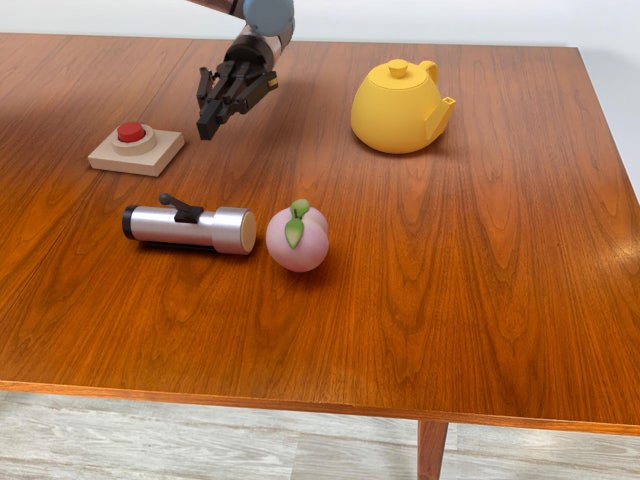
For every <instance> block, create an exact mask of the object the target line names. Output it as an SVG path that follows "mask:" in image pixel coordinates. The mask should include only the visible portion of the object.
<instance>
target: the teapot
mask: <svg viewBox="0 0 640 480" xmlns="http://www.w3.org/2000/svg"><path fill="white" fill-rule="evenodd" d="M438 79H439V66H438V65H437V64H436V63H435V62H434V61H432V60H423V61H421V62H420V63H419V64H415V63H412V62H409V61H407V60H404V59H401V58H396V59H395V58H394V59H391V60H389V61H388V62H385V63H381V64H379V65H377V66H375V67H373V68H372V69H371V70H370V71H369V72H368V74H367V75H366V76H365V78H364V79H363V80H362V82H361V84H360V86H359V88H358V89H357V91H356V93H355V95H354V98H353V101H352V105H351V109H350V127H351V129H352V132H353V133H354V135H355V136H356V137H357V138H358V139H359V140H360V141H361V142H363V143H364V144H365V145H367V146H368V147H369V148H371V149H373V150H375V151H378V152H382V153H387V154H396V155H397V154H399V155H400V154H410V153H415V152H417V151H420V150H423V149H424V148H426V147H428V146H429V145H431V144H432V143H433V142H434V141H435V140H437V138H438V137H440V135H441V134H443V133H444V131H445V129H446V127H447V125H448V123H449V120H450V118H451V116H452V113H453V111H454V109H455V106H456V105H457V101H456V100H455V99H453V98H451V97H449V96H446V97H444V98H443V97H442V94H441V92H440V90H439V88H438V86H437V85H438Z"/></svg>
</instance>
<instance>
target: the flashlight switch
mask: <svg viewBox="0 0 640 480" xmlns="http://www.w3.org/2000/svg"><path fill="white" fill-rule="evenodd" d="M158 202H159V203H160V204H161V206H167V207H168V208H172V209H176V210H178V211H180V212H184V213H190V209H191V206H192V205H191V204H188V203H186V202H184V201H182V200H180V199H178V198H176V197H174V196H172V195H171V194H170V193H168V192H162V193H160V194H159V196H158Z"/></svg>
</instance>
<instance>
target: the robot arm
mask: <svg viewBox="0 0 640 480" xmlns="http://www.w3.org/2000/svg"><path fill="white" fill-rule="evenodd" d="M185 1H186V2H189V3H192V4H195V5H198V6H201V7H204V8H207V9H210V10H213V11H216V12H219V13H223V14H225V15H229V16H232V17H235V18H237V19H239V20H243V21H245V25H244V26H243V28H242V30H241V31H240V32H239V34H238V35H237V36H236V37H235V39H234V40H233V41H232V43H231V44H230V46H229V47H228V48H227V50H226V51H225V53H224V58H223V60H222V62H221V63H219V64H217V65H216V67H215V68H214V69H208V67H207V66H201V67H199V69H198V70H199V74H200V79H199V83H198V86H197V91H196V93H195V94H196V95H195V96H196V97H195V98H196V100H197V101H196V102H197V104H198V108H199V112H198V115H199V118H197V119H198V120H197V121H196V123H195V126H196V128H197V132H198V135H199V138H200V141H208V142H211V141H212V140H213V138H214V136H216V134H217V131H218V130H219V128H220V127H221V125H222V126H224V125H226V124H227V123H228V121H229V119H230V118H231V117H232V116H234V115H235V114H236V113H239V115H242V116H243V115H246V114H248V113H249V112H250V111H251V110H252V109H253V108H254V107H255V106H257V104H258V103H260V102H261V100H263V99H264V98H265V97H266V96H267V95H268V94H269V93H270V92H272V91H275V90H277V89H278V88H280V87H279V80H278V74H277V71H276V70H273V69H274V68H275V66H276V64H278V61H279V60H280V58H281V56H282V54H283V53H284V51H285V49H286V47H287V46H288V45H289V44H290V43H291V41H292V38H293V35H294V32H295V29H296V20H295V19H296V18H295V4H294V3H295V2H294V0H185ZM217 78H218V80H217ZM216 80H217V82H215V81H216Z"/></svg>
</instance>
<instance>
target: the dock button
mask: <svg viewBox="0 0 640 480" xmlns="http://www.w3.org/2000/svg"><path fill="white" fill-rule="evenodd" d="M141 124H142V123H140V122H138V121H129V122H124V123H122V124H121V125H120V126H119V125H118V126H119V127H118V126H117V127H118V128H117V127H116V128H117V133H118V135H119V138H120V140H121V142H123V143H131V142H137V141H139V140H141V139H143V138H144V136H145V133H144V130H143V127H142V125H141Z"/></svg>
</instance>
